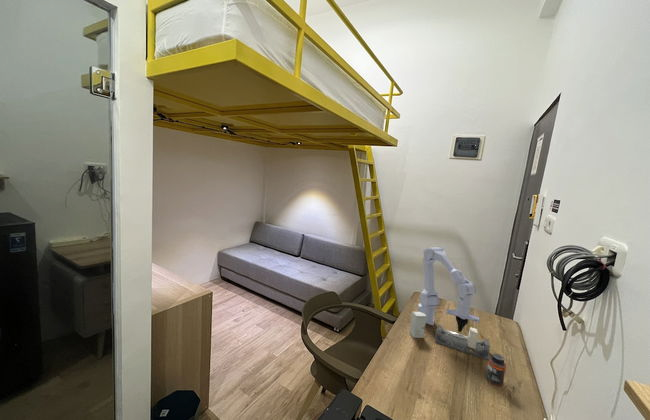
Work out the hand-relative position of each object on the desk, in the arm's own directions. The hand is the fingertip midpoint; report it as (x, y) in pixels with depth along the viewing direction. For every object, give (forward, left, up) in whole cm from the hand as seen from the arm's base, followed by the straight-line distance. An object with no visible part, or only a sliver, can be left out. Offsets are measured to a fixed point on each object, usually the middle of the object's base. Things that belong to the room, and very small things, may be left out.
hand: (459, 330), depth 123 cm
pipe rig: (+2, 0, -7) cm, 7 cm away
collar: (+6, 0, -5) cm, 8 cm away
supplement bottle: (+13, -20, -7) cm, 25 cm away
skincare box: (-19, -5, -7) cm, 21 cm away
